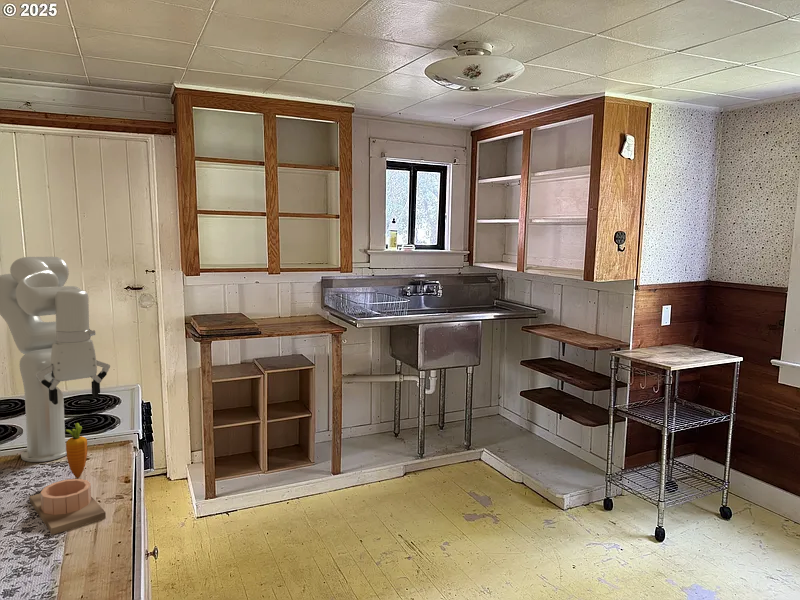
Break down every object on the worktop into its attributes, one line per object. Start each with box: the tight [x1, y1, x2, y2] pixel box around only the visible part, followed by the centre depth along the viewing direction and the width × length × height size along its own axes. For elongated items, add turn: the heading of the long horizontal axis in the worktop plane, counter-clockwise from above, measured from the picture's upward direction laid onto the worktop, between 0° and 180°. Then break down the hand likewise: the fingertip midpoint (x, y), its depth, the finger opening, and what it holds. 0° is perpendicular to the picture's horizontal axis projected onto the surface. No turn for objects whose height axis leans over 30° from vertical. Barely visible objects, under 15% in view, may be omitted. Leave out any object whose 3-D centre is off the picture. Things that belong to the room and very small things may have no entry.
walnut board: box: [29, 492, 106, 536], centre depth 133 cm, size 20×11×2 cm, turn 45°
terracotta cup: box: [40, 478, 92, 515], centre depth 133 cm, size 10×10×4 cm
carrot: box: [65, 422, 88, 479], centre depth 149 cm, size 5×5×15 cm
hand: (75, 399), depth 147 cm, fingers open, 9 cm apart
